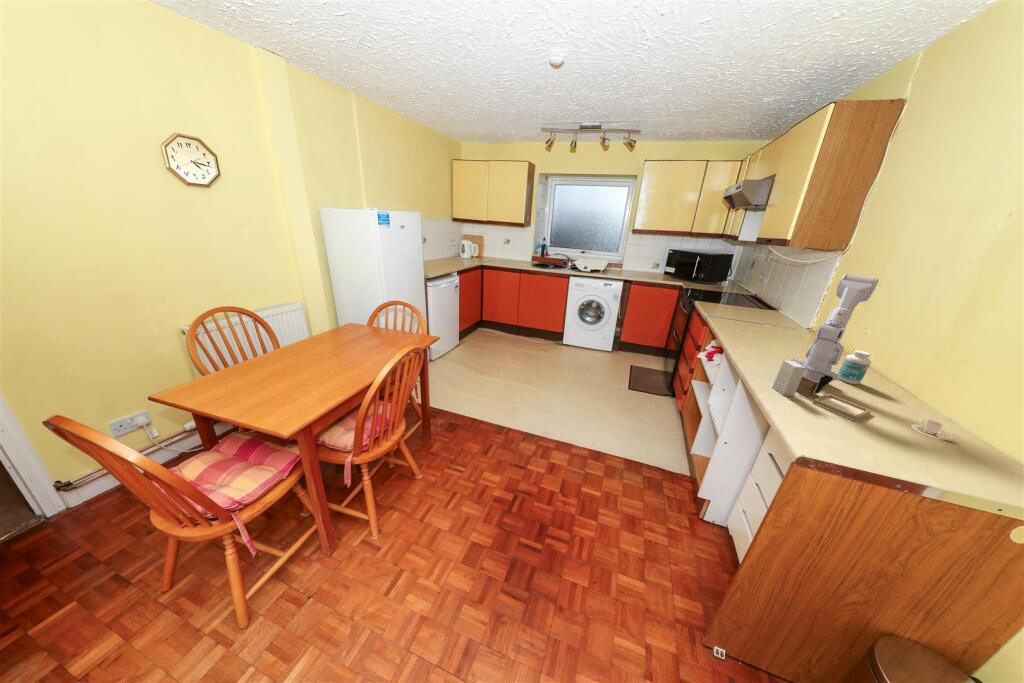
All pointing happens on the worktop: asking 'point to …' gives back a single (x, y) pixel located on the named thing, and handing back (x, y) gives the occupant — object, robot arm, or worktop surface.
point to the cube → (807, 386)
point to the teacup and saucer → (933, 430)
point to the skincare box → (788, 378)
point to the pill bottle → (854, 367)
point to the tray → (842, 407)
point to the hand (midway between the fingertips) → (804, 388)
